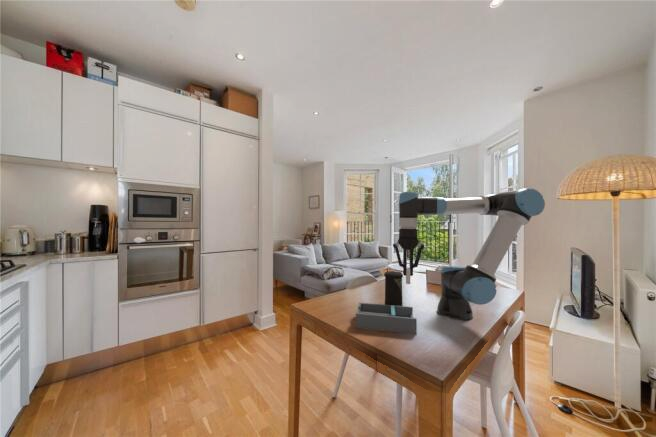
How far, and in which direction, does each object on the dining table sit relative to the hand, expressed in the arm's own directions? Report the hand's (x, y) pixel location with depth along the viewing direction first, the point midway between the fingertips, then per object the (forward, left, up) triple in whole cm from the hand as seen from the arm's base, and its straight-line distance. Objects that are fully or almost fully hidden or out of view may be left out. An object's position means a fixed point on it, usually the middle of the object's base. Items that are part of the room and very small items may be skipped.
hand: (408, 283), depth 101 cm
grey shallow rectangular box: (+9, 0, -18) cm, 21 cm away
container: (+5, -14, -19) cm, 24 cm away
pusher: (+14, 0, -17) cm, 22 cm away
